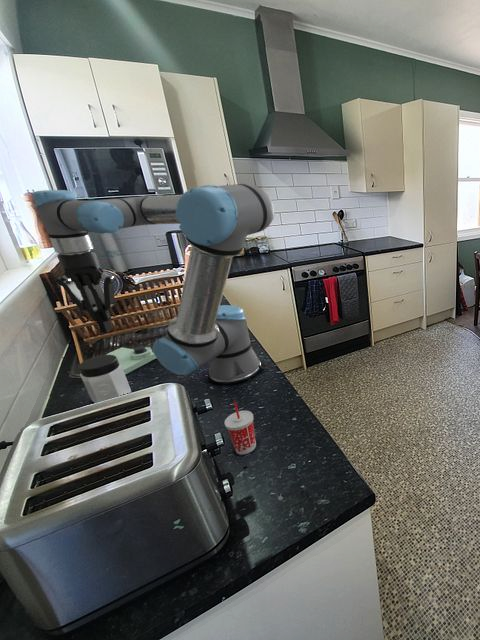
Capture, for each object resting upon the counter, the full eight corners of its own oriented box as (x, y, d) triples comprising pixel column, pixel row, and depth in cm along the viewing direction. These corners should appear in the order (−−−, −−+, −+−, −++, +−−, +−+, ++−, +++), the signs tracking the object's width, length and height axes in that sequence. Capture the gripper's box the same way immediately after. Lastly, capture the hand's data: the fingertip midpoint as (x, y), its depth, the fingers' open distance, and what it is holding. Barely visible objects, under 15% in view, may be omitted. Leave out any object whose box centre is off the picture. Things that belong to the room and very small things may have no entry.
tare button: (148, 350, 120) (146, 346, 119) (140, 355, 118) (138, 350, 117) (141, 349, 121) (139, 345, 120) (133, 353, 118) (131, 349, 117)
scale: (158, 357, 122) (155, 348, 121) (122, 376, 111) (119, 366, 110) (124, 351, 125) (121, 342, 124) (86, 369, 114) (82, 360, 113)
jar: (89, 409, 97) (72, 373, 92) (94, 394, 103) (79, 359, 98) (130, 399, 101) (116, 364, 96) (132, 385, 107) (119, 351, 102)
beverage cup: (250, 435, 90) (240, 390, 84) (264, 445, 87) (254, 399, 81) (227, 449, 85) (214, 403, 79) (241, 460, 82) (229, 414, 76)
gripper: (112, 248, 97) (138, 323, 107) (56, 249, 94) (88, 326, 104) (95, 254, 90) (125, 334, 100) (35, 255, 88) (71, 338, 97)
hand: (106, 330), depth 102 cm, fingers closed
